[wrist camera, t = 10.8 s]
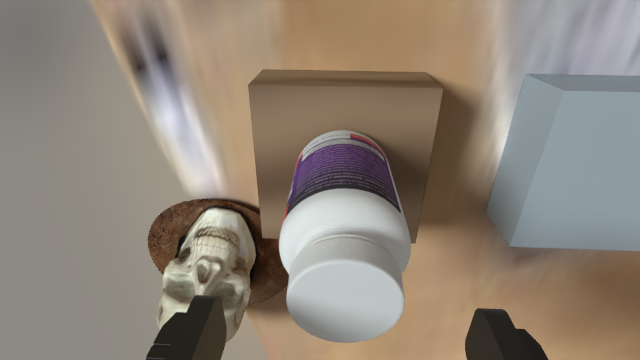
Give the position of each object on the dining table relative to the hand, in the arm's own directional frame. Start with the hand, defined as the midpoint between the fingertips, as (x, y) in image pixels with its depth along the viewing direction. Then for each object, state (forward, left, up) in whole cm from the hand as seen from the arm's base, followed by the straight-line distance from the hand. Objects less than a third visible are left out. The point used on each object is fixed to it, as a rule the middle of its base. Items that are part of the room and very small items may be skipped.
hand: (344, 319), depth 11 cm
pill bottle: (0, 0, -11) cm, 11 cm away
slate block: (0, +16, -14) cm, 21 cm away
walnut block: (0, 0, -14) cm, 14 cm away
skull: (+10, -10, -15) cm, 20 cm away
